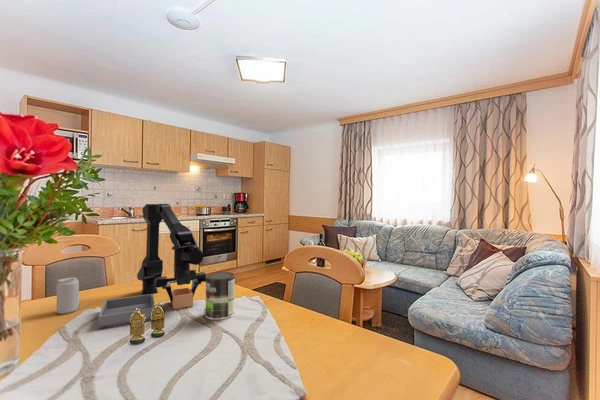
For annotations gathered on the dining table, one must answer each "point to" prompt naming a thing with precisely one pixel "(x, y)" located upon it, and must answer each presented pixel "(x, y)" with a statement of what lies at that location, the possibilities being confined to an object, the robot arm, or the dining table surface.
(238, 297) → the dining table surface
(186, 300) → the small crate
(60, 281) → the beverage can
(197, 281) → the robot arm
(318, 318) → the dining table surface
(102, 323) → the big crate
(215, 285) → the coffee can
